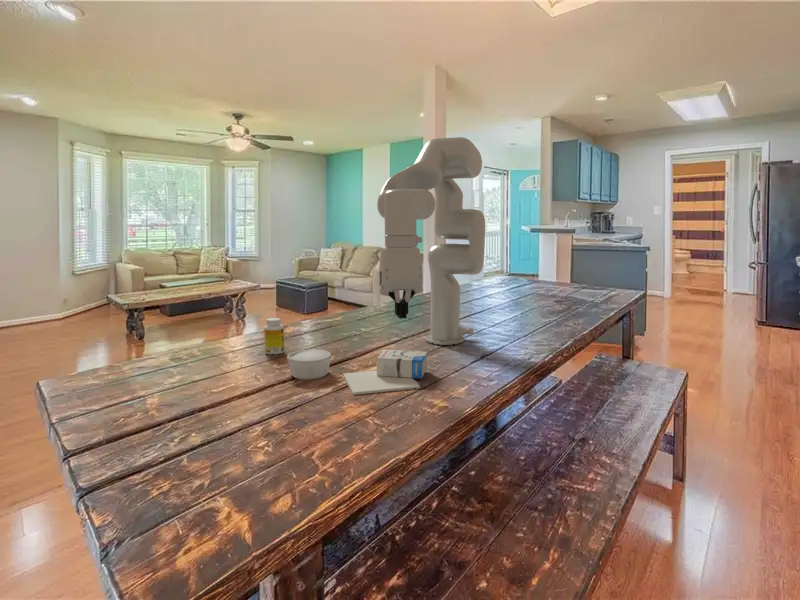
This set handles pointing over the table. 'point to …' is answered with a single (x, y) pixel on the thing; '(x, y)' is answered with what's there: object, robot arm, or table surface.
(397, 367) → the ink box
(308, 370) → the ramekin
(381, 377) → the rubber mat
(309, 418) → the table surface
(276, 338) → the supplement bottle
